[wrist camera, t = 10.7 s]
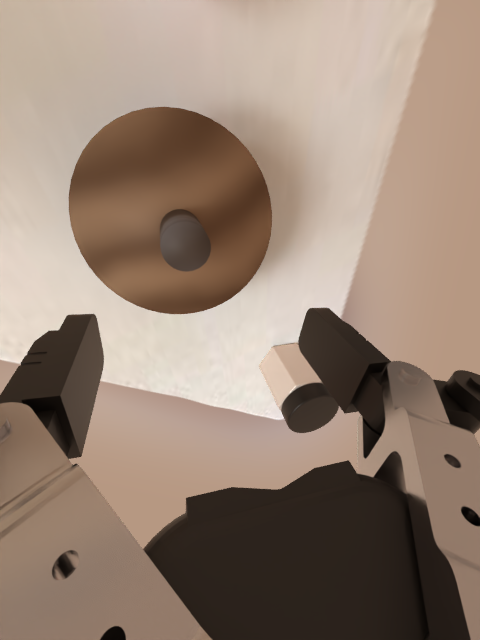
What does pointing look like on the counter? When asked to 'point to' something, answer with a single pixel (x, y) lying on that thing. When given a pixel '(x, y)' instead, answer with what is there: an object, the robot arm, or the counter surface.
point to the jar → (297, 389)
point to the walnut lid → (170, 210)
